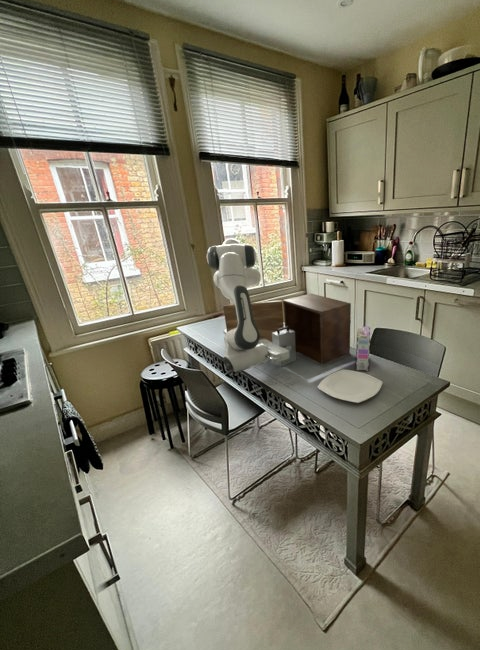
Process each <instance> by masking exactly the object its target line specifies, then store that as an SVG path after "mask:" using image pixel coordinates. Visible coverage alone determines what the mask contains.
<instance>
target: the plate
mask: <svg viewBox="0 0 480 650" xmlns="http://www.w3.org/2000/svg"><path fill="white" fill-rule="evenodd" d="M383 383H384V382H383V381H382V380H380V379H379V378H376V377H374V376H373V375H370V374H367V373H365V372H362V371H358V370H351V369H344V368H343V369H341V370H340V369H339V370H338V371H335V372H333V373H330V374H328V375H326V376H325V377H324V378H323V379H322V380H321V381H320V382H319V384H318V386H317V389H318V390H320V391H322V393H324V394H326V395H328V396H330V397H332V398H334V399H337V400H341V401H345V402H349V403H355V404H360V403H362V402H365V401H367V400H370V399H371V398H373V397H374V396H376V395H377V394H378V393H379V391H380V390H381V388H382V386H383Z"/></svg>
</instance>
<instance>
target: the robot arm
mask: <svg viewBox="0 0 480 650" xmlns="http://www.w3.org/2000/svg"><path fill="white" fill-rule="evenodd" d="M206 261H207V264H208V267H209V268H210V269H212V270H214V271H215V272H214V274H213V283H214V285H215V287H216V288H218V289H219V290H220V291H221V294H222V296H223V297H225V298H226V299H228V300H229V302H230V304H229V305H234V304H235V307H236V313H237V319H238V326H237V328H234V329H232V330H229V331H228V332H227V329H226V328H225V329H224V330H223V332H224V333H225V336H224V344H225V350H224V355H223V364H224V365H225V367H226V368H227V369H228V370H229V371H230V372H233V373H238V372H242V371H246V370H248V369H251V368H252V367H253V366H255V367H257V366H259V365H262V364H265V363H268V362H269V361H272V362H274V361H275V362H278V361H283V360H286V359H289V357H290V352H289V350H291V346H289V345H288V346H286V348H283V347H281V346H278V345H276V344H274V343H273V342H271V341H269V340H267V339H261V340H259V338H260V336H259V331H258V329H257V327H256V325H255V323H254V318H253V313H252V307H251V303H252V302H251V298H250V293H249V290H248V288H253V287H256V286H258V285H259V284H260V282H261V279H262V278H261V277H262V275H261V271H260V270H259V269H258V268H256V267H254V266H255V265H256V262H257V252H256V250H255V248H254V246H253V245H252V244H248V243H243V244H242V243H241V242H240V241H239V240H237V239H236V238H232V237H231V238H227V239H225V240H224V241H223V242H222V244H221V245H212V246H210V247H209V248H208V249H207V252H206Z"/></svg>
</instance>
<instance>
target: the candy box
mask: <svg viewBox="0 0 480 650" xmlns="http://www.w3.org/2000/svg"><path fill="white" fill-rule="evenodd" d="M355 346H356V347H355V349H356V350H355V355H356V356H355V371H358V372H369V371H370V370H369V369H370V351H371V350H370V349H371V326H361V325H360V326H359V325H358V326H357V333H356V345H355Z"/></svg>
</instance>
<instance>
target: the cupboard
mask: <svg viewBox="0 0 480 650" xmlns="http://www.w3.org/2000/svg"><path fill="white" fill-rule="evenodd" d="M282 307H283V321H284V324H285V327H287V326H289V329H291V330H293V331H295V345H296V353H298V354H300V355H302V356H304V357H306V358H308V359H310V360H312V361H314V362H316V363H318V364H321V365H325V364H327V363H330V362H332V361H335V360H337V359H339V358H342V357H344V356H348V355H349V354H350V353H351V319H352V317H351V314H352V303H351V302H348V301H343V300H339V299H335V298H331V297H327V296H322V295H319V294H315V293H307V294H302V295H298V296H295V297H289V298H287V299H283V300H282Z"/></svg>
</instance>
